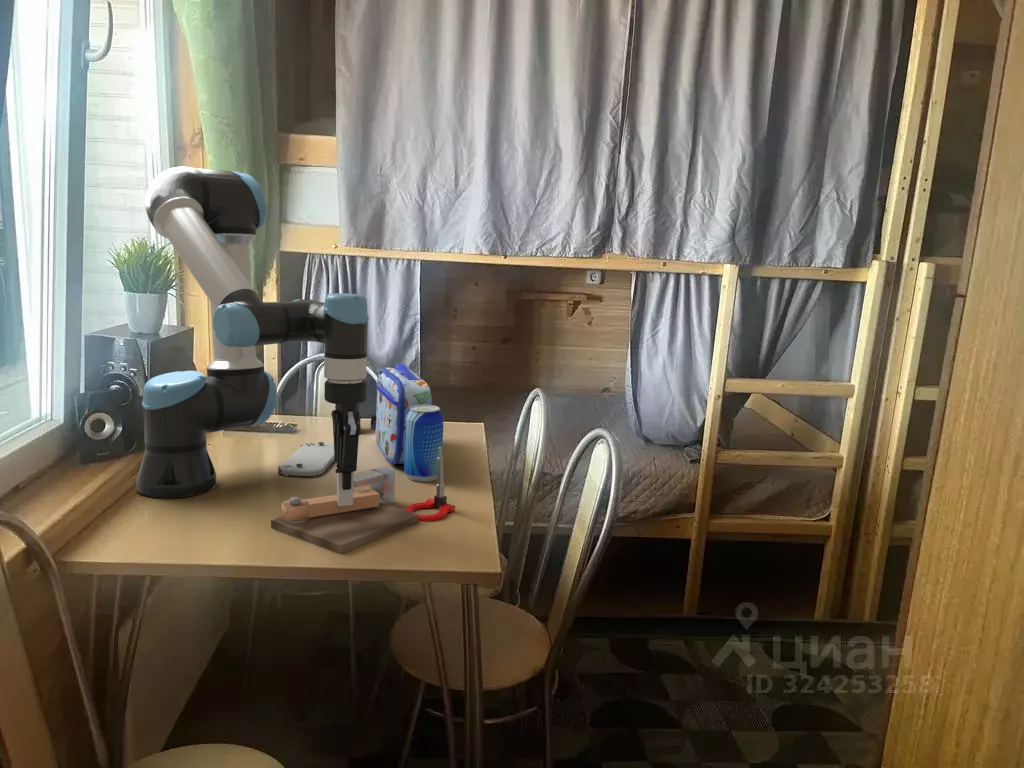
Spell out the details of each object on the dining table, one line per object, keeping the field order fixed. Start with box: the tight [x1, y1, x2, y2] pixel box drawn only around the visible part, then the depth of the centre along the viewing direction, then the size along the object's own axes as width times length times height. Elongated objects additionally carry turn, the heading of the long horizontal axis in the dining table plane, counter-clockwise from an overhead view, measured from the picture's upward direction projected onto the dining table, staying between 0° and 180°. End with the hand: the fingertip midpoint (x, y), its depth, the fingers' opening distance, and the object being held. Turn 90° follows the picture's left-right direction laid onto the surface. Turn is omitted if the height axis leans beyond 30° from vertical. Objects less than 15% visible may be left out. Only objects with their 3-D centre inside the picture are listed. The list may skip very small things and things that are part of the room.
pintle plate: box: [270, 502, 420, 555], centre depth 147 cm, size 18×20×2 cm
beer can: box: [403, 404, 445, 483], centre depth 176 cm, size 8×8×16 cm
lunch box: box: [370, 362, 433, 465], centre depth 192 cm, size 28×10×22 cm, turn 22°
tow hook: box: [404, 447, 456, 522], centre depth 154 cm, size 8×13×9 cm
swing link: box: [280, 489, 379, 522], centre depth 148 cm, size 18×5×4 cm, turn 124°
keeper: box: [353, 466, 396, 505], centre depth 157 cm, size 10×4×6 cm, turn 141°
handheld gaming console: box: [277, 441, 334, 478], centre depth 184 cm, size 23×3×10 cm
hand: (344, 504), depth 147 cm, fingers closed
